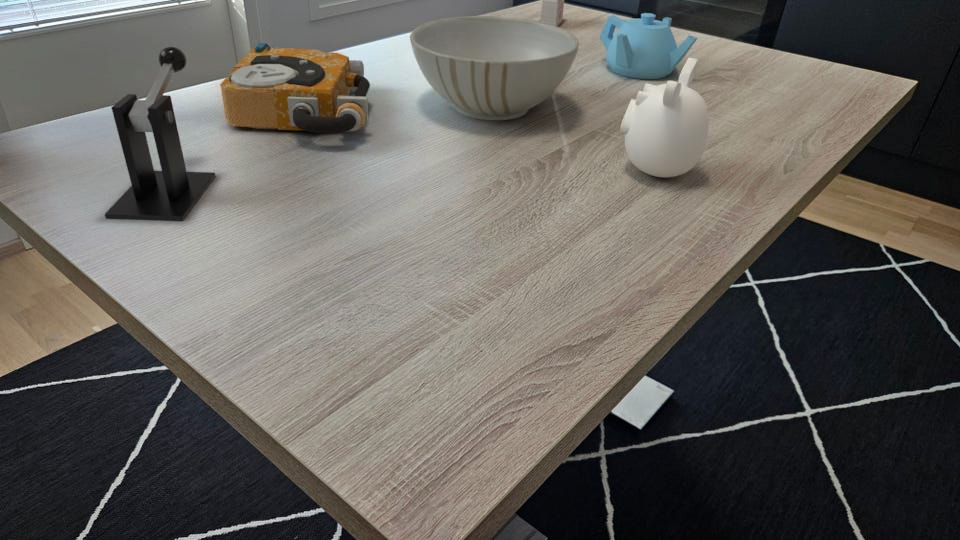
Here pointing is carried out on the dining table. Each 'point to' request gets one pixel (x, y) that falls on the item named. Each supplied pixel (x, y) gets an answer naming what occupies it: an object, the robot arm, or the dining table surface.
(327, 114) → the device
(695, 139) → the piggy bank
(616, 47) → the teapot
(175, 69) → the lever
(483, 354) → the dining table surface
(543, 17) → the white rectangular block
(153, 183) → the bracket
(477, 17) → the decorative bowl
